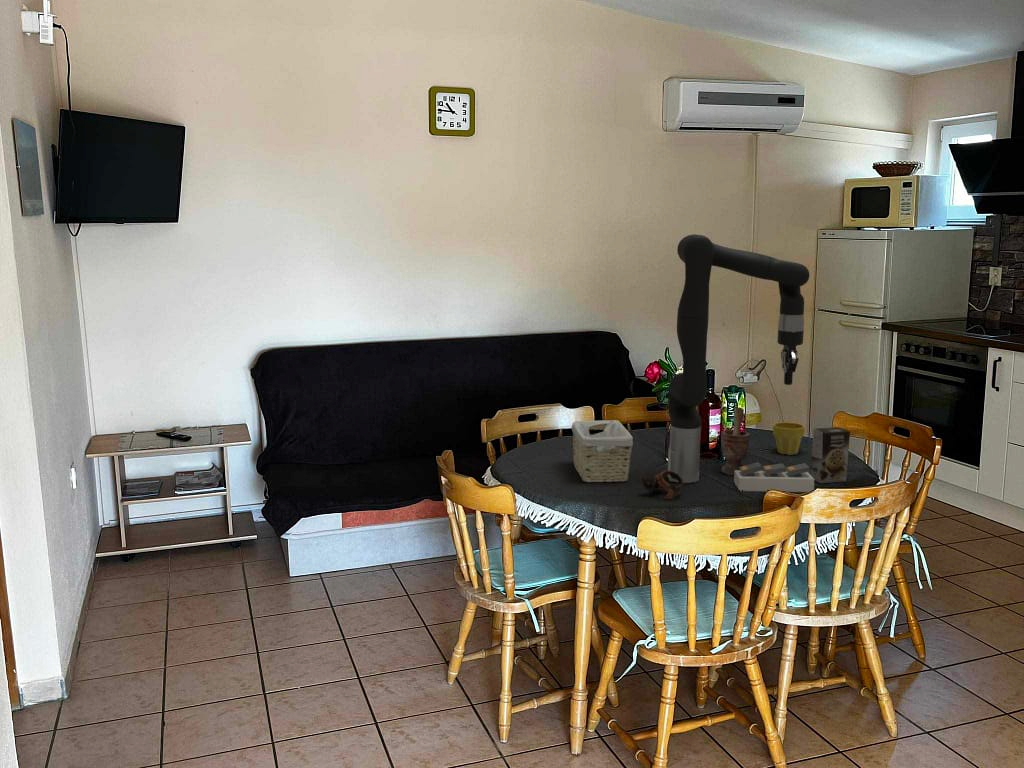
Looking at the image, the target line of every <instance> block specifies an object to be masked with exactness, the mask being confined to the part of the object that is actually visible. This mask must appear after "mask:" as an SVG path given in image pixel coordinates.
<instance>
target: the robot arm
mask: <svg viewBox="0 0 1024 768" xmlns="http://www.w3.org/2000/svg"><path fill="white" fill-rule="evenodd" d="M676 249H677V255H678V257H679V259H680V260H681V261H682V262H683V263H684V269H685V273H684V275H685V276H684V277H685V280H684V287H683V290H682V293H681V297H680V299H679V303H678V307H677V313H676V314H677V317H676V336H677V339H678V344H679V346H680V347H679V348H680V352H681V355H682V363H683V364H682V372H679V373H676V374H675V375H674V376H673V377H672V378H671V379H670V382H669V386H668V403H667V404H668V407H667V408H668V416H669V418H670V427H669V428H670V429H669V430H670V431H669V434H670V435H669V446H668V450H667V451H668V453H667V454H668V455H667V456H668V457H667V461H668V462H667V471H672V472H675V473H676V474H678V475H679V476H680V477H681V478H682V480H683V484H692V482H693V483H696V481H697V482H699V479H700V478H699V477H700V456H701V455H700V454H701V436H702V435H701V432H702V417H701V415H700V414H699V412H698V409H697V407H698V406H700V405H701V404H702V403H703V402H704V400H705V398H706V396H707V392H708V383H707V382H708V380H707V345H708V329H709V314H710V313H709V312H710V311H709V309H710V278H711V274H712V273H711V272H712V267H717V268H722V269H725V270H730V271H733V272H735V273H739V274H742V275H745V276H749V277H753V278H756V279H761V280H766V281H767V280H768V281H773V282H777V283H778V291H779V296H780V297H779V298H780V302H779V316H778V321H777V322H778V325H777V344H779V345H782V347H783V348H782V349H781V351H780V357H781V368H782V369H783V373H784V374H783V375H784V376H783V377H784V378H783V384H784V385H786V386H789V385H790V386H791V385H793V377H794V376H793V374H794V373H795V372H796V369H797V366H798V363H799V357H798V350H797V346H802V345H803V344H804V329H805V317H804V315H805V314H804V311H805V298H804V295H803V294H802V293H801V292H802V291H801V287H802V286H804V285H806V283H808V282H809V280H810V270H809V268H808V267H806V266H805V265H804V264H802V263H798V262H792V261H789V260H783V259H779V258H775V257H772V256H769V255H765V254H761V253H757V252H752V251H748V250H741V249H736V248H731V247H726V246H724V245H723V246H722V245H719V244H716V243H713V242H712V241H711V239H710V238H709V237H708V236H706V235H701V234H689V235H687V236H684V237H683V238H682V239H680V241H679V242H678V244H677V248H676ZM667 478H668V481H669V482H674V483H679V481H678V480H676V479H672V477H671V476H670V475H668V476H667Z"/></svg>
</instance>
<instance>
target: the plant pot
mask: <svg viewBox="0 0 1024 768" xmlns="http://www.w3.org/2000/svg"><path fill="white" fill-rule="evenodd" d="M805 427H806V426H805V425H804V424H802V423H799V422H792V421H779V422H775V423H773V425H772V434H773V435H774V438H775V442H776V443H775V444H776V450H777V453H778V452H779V454H780V453H781V454H780V455H784V454H787V455H786V456H795V455H797V454H798V453H799V449H800V445H801V441H802V440H803V439H802V438H803V437H804V435H805ZM794 454H795V455H794Z"/></svg>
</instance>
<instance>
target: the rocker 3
mask: <svg viewBox="0 0 1024 768" xmlns="http://www.w3.org/2000/svg"><path fill="white" fill-rule="evenodd" d="M785 467H786V472H787V473H788V474H789V475H790V476H793V475H797V474H801V473H805V472H808V473H810V471H811V468H810V466H809V465H808V464H807V463H805V462H803V463H799V464H794V465H791V466H785Z"/></svg>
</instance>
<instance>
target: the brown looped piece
mask: <svg viewBox="0 0 1024 768" xmlns="http://www.w3.org/2000/svg"><path fill="white" fill-rule="evenodd" d="M668 475H670V476H671V477H672V479H676V480H678V481H679V482H678V485H673V486H672V488H670V486H671V485H670V483H669V482H667V481H666V480H665V478H666V477H668ZM648 483H650V484H648ZM641 484H642V487H643V488H644V489H645V490H647V491H648V493H650V494H652V493H653V490H662V491H664V490H665V491H667V493H666V495H665V499H667V500H671V499H673V497H677V496H678V495H680V494H681V493H682V490H683V485H684V483H683V480H682V478H681V477H680V476H679V475H678V474H676V473H675V472H672V471H668V469H667V470H663V471H661V472H660V473H658V474H656V475H654V476H651V475H645V476H644V477H643V478H642V480H641Z"/></svg>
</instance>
